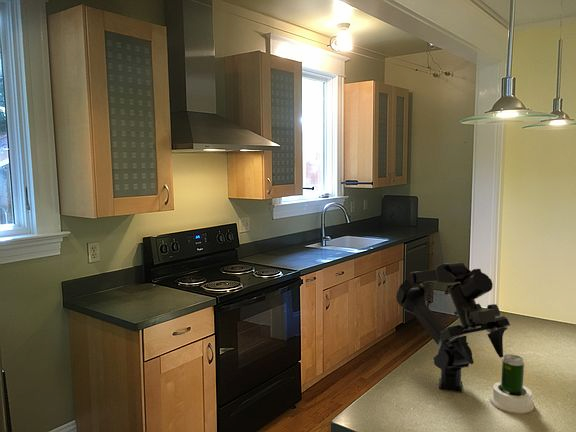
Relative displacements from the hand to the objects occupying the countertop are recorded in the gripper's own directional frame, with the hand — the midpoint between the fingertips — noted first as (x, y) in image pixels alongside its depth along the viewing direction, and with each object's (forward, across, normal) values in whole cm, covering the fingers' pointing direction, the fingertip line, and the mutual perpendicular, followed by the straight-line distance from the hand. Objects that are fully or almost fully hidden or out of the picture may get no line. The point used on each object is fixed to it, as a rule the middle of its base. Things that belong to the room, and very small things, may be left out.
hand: (487, 360), depth 127 cm
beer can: (+11, +8, +8) cm, 15 cm away
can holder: (+12, +8, +8) cm, 16 cm away
